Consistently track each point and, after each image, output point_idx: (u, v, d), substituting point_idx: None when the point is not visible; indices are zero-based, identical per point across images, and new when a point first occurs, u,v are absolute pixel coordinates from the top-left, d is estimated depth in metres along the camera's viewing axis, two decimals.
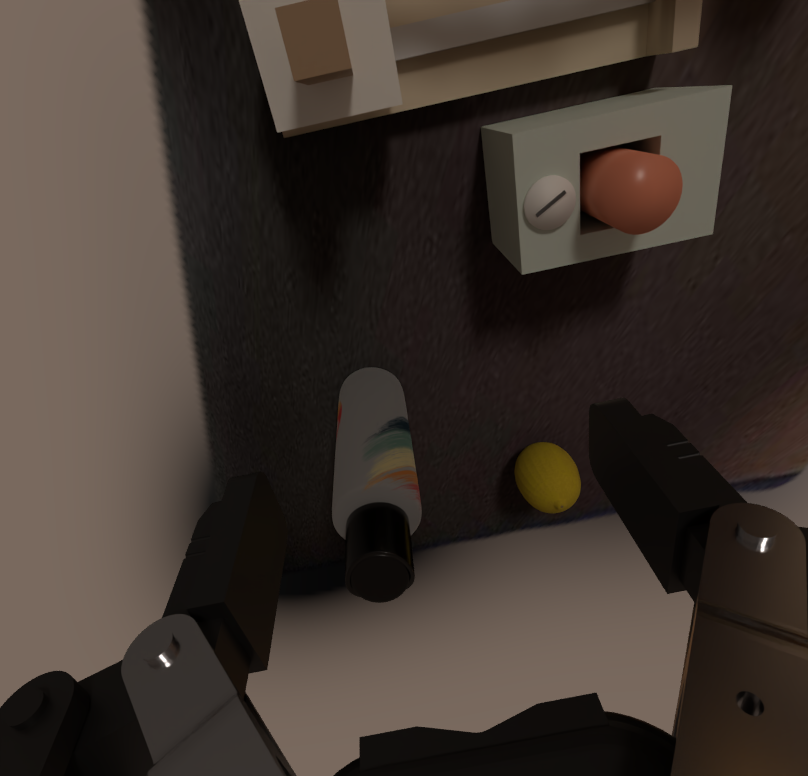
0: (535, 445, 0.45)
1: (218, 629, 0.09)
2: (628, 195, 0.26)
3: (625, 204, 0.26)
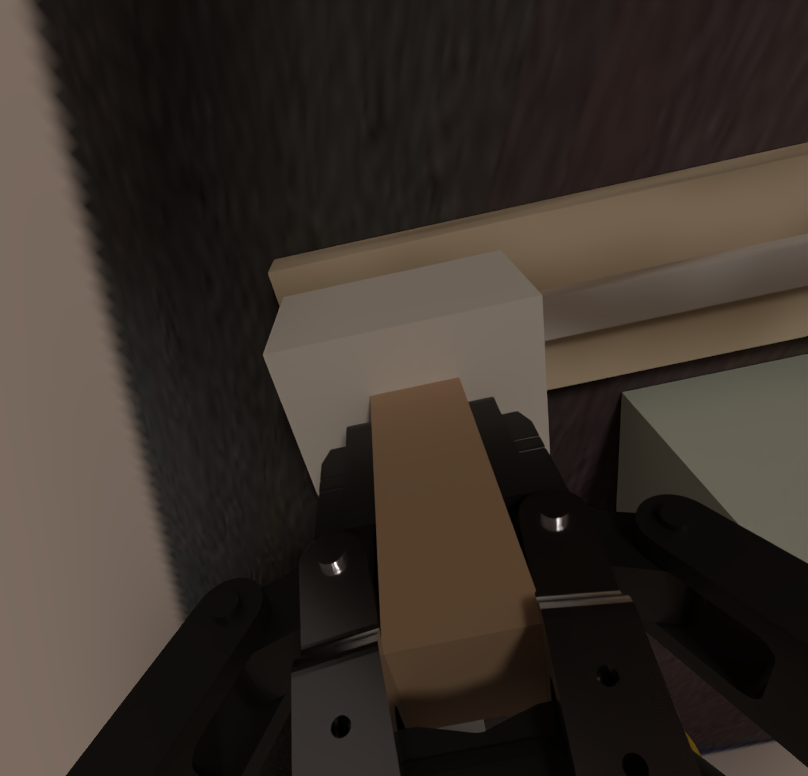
0: None
1: (371, 548, 0.09)
2: None
3: None
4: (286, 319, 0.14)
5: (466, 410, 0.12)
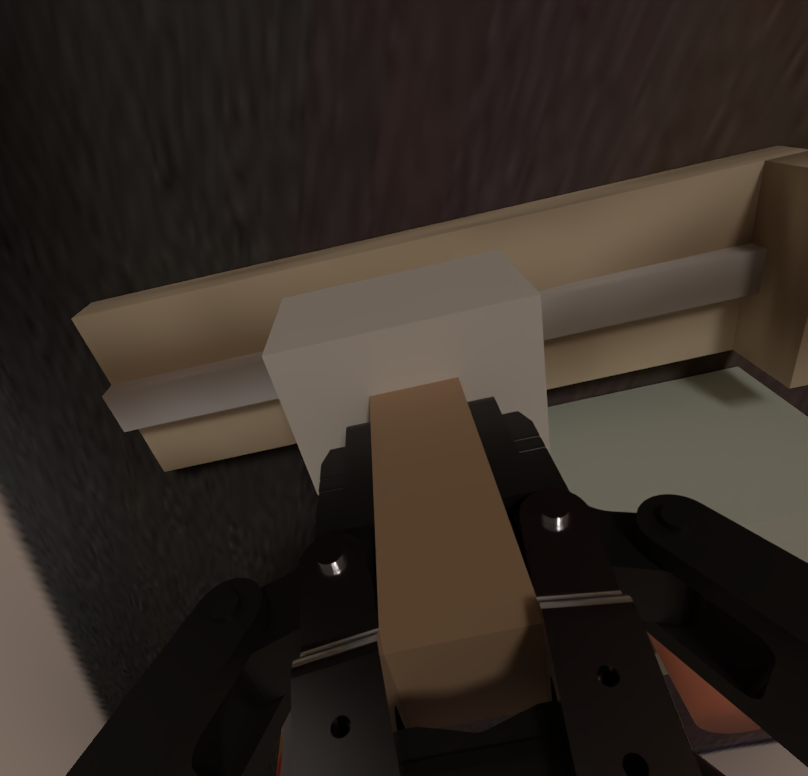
0: None
1: (371, 549, 0.09)
2: None
3: (724, 709, 0.15)
4: (285, 320, 0.14)
5: (464, 410, 0.12)
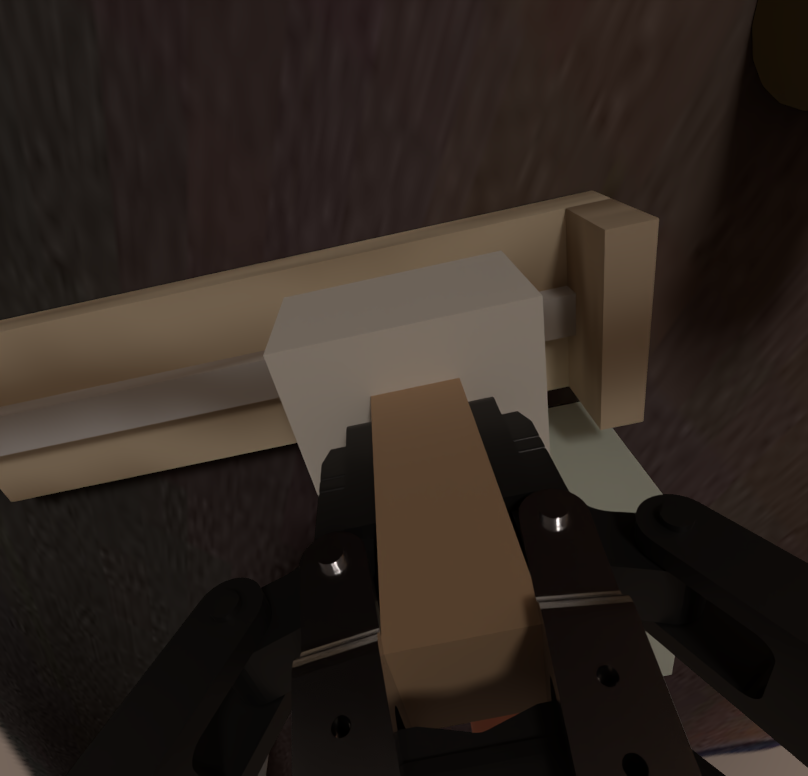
0: None
1: (371, 548, 0.09)
2: None
3: None
4: (286, 319, 0.14)
5: (466, 410, 0.12)
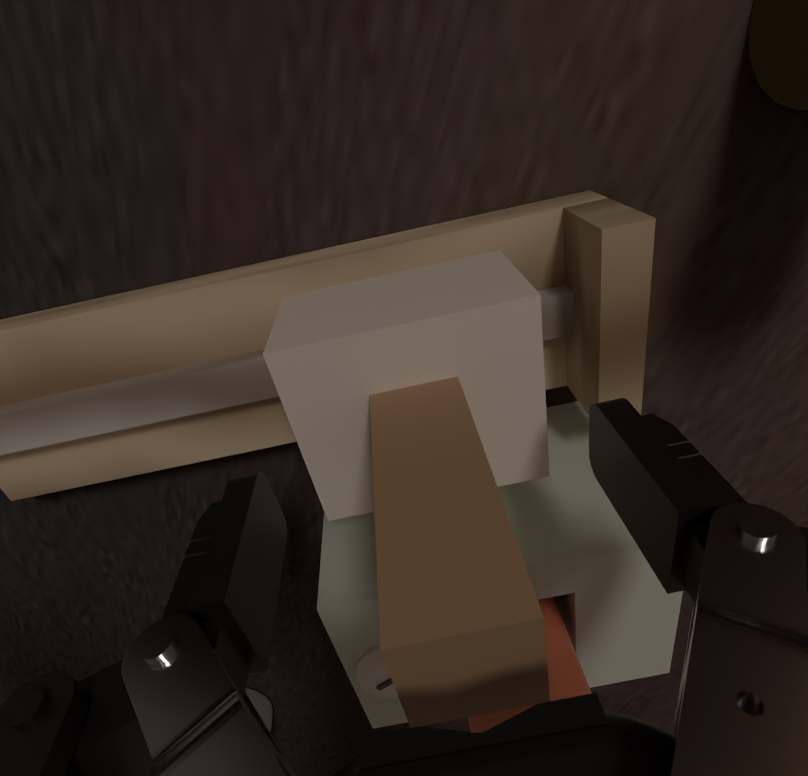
0: None
1: (218, 629, 0.09)
2: None
3: None
4: (286, 319, 0.14)
5: (464, 409, 0.12)
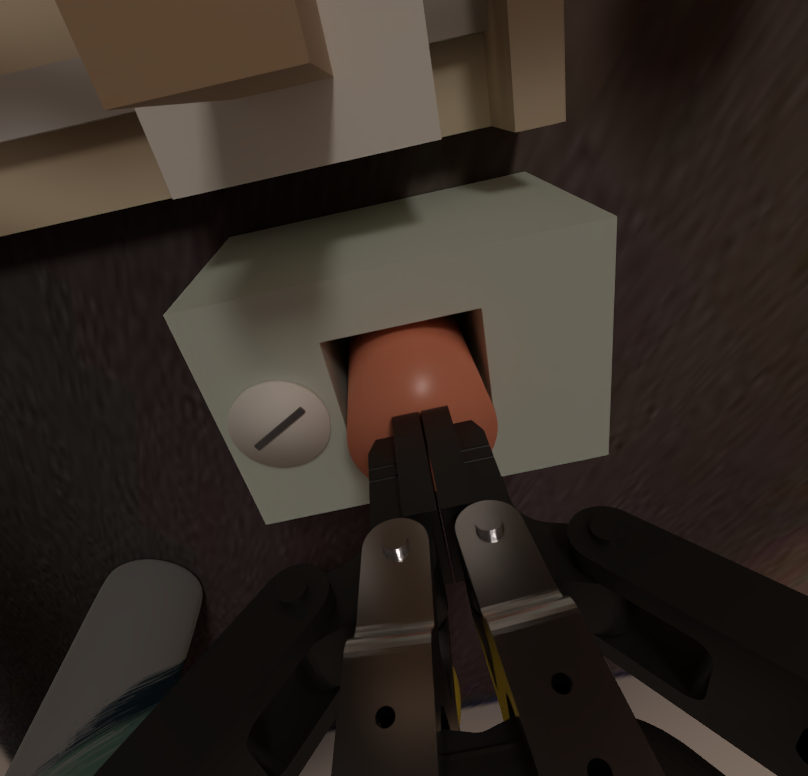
0: None
1: (429, 536, 0.09)
2: None
3: None
4: None
5: None
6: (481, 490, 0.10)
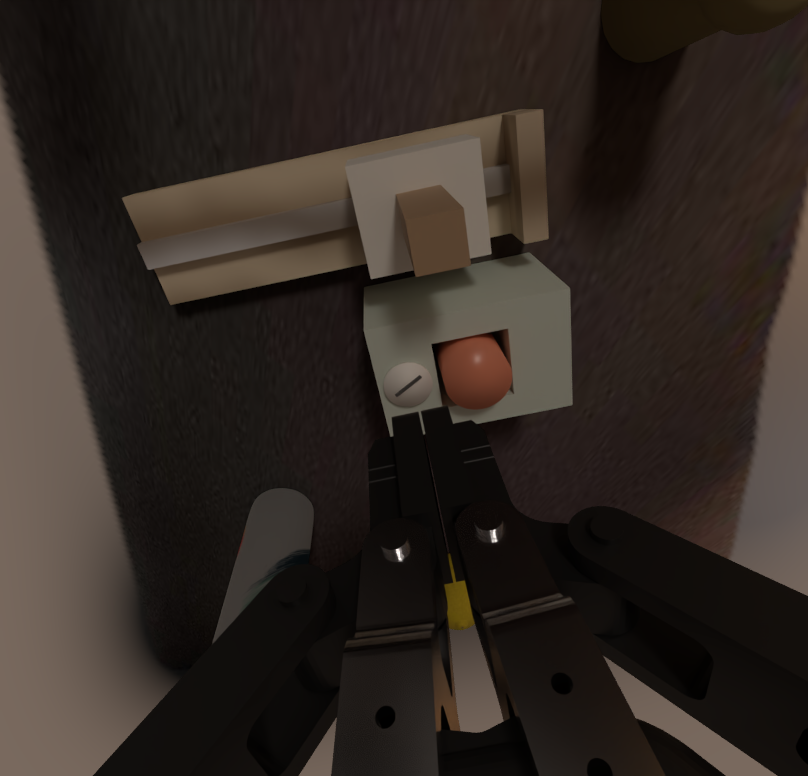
0: None
1: (429, 536, 0.09)
2: (463, 380, 0.29)
3: (461, 387, 0.29)
4: (352, 161, 0.27)
5: (442, 189, 0.24)
6: (481, 490, 0.10)
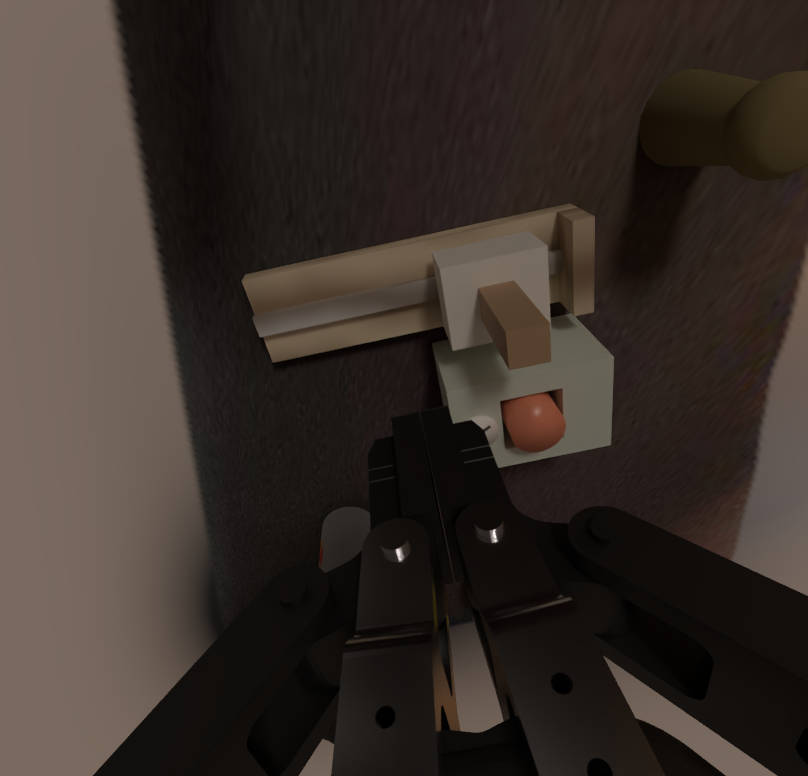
0: None
1: (429, 536, 0.09)
2: (526, 430, 0.36)
3: (524, 435, 0.36)
4: (440, 258, 0.33)
5: (519, 288, 0.31)
6: (481, 490, 0.10)
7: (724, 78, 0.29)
